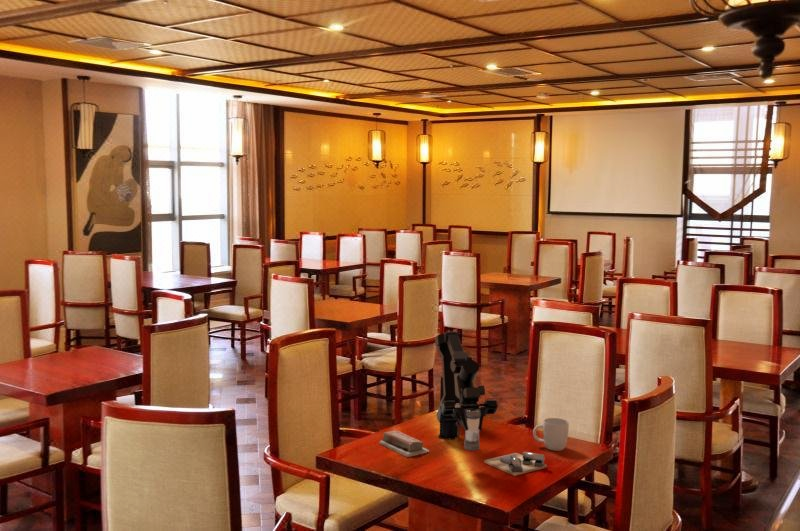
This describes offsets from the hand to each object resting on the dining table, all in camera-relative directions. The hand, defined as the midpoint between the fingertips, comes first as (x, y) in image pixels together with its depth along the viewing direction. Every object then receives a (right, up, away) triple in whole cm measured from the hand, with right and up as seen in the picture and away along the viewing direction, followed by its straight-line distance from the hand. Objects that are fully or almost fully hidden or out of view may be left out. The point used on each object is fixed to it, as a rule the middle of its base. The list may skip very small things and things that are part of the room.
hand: (473, 429), depth 254 cm
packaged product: (-23, -12, +22) cm, 34 cm away
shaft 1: (+14, -14, 0) cm, 20 cm away
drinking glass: (0, -6, +2) cm, 7 cm away
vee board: (+15, -13, +6) cm, 21 cm away
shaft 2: (+21, -13, +5) cm, 25 cm away
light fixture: (-2, -9, +57) cm, 57 cm away
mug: (+31, -12, +25) cm, 42 cm away
